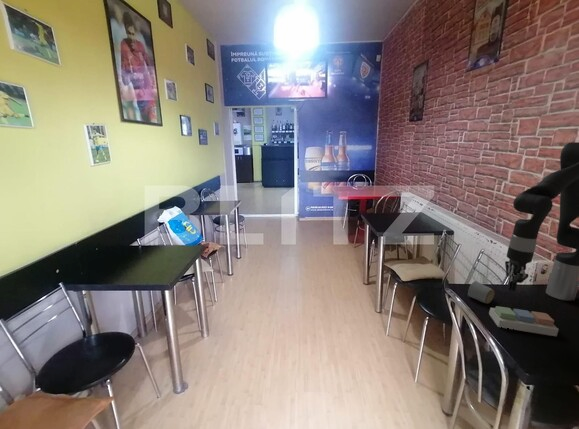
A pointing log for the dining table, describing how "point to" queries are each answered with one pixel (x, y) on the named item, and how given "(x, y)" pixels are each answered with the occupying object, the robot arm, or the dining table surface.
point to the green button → (505, 313)
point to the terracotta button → (542, 318)
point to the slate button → (524, 315)
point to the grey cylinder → (481, 292)
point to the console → (523, 325)
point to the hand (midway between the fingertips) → (510, 289)
